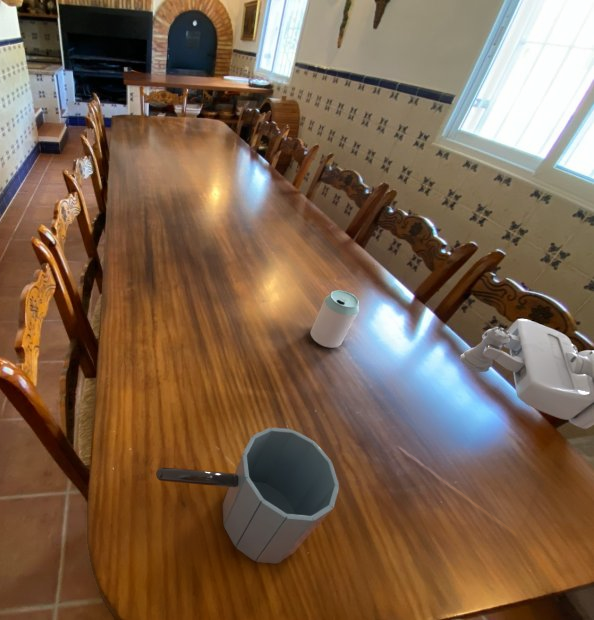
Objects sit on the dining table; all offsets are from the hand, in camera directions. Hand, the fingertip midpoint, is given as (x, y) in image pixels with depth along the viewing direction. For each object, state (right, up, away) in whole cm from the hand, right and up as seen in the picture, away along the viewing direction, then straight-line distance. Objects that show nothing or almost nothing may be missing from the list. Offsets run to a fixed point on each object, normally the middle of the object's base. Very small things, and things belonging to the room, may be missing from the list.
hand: (484, 342), depth 62 cm
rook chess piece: (0, -4, +3) cm, 5 cm away
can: (-18, -1, +21) cm, 28 cm away
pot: (-46, -24, -10) cm, 53 cm away
